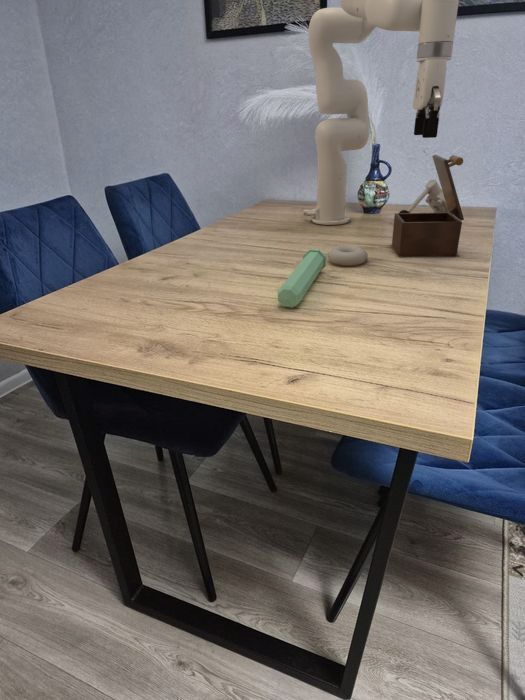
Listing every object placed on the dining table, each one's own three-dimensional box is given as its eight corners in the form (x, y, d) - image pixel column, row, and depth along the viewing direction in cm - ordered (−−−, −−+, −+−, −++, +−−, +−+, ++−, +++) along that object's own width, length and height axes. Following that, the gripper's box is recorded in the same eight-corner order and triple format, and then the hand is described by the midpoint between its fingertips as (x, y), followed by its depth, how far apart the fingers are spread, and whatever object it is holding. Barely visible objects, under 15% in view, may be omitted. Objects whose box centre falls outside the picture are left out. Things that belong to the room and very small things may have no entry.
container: (294, 281, 90) (321, 244, 111) (267, 290, 93) (299, 252, 114) (305, 308, 92) (330, 267, 113) (279, 316, 95) (308, 275, 116)
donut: (352, 270, 114) (374, 260, 121) (353, 257, 113) (375, 247, 119) (319, 263, 121) (341, 253, 127) (319, 250, 119) (342, 241, 125)
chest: (398, 256, 123) (402, 222, 119) (391, 245, 133) (394, 213, 129) (456, 256, 121) (462, 222, 117) (444, 244, 132) (449, 212, 128)
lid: (443, 160, 111) (464, 151, 110) (432, 155, 121) (450, 147, 120) (460, 220, 117) (480, 212, 116) (448, 211, 128) (466, 203, 126)
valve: (409, 245, 166) (387, 215, 159) (447, 203, 165) (426, 170, 158) (428, 250, 157) (406, 218, 150) (468, 205, 157) (448, 171, 149)
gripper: (409, 57, 114) (402, 134, 122) (426, 50, 99) (416, 139, 107) (441, 55, 114) (432, 133, 122) (462, 48, 98) (450, 138, 106)
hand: (424, 136), depth 114 cm, fingers open, 9 cm apart
